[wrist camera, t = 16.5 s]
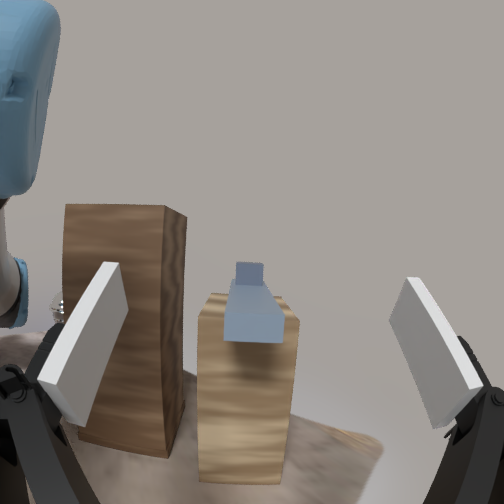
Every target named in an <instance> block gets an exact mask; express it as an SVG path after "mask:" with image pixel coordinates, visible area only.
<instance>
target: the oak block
mask: <svg viewBox="0 0 504 504" xmlns="http://www.w3.org/2000/svg"><path fill="white" fill-rule="evenodd" d="M228 295H229V294H219V293H211V295H210V297H209V299H208V300H207V302H206V303H205V306H204V307H203V309H202V310H201V312H200V314H199V316H198V345H197V346H198V347H197V348H198V349H197V420H198V459H199V482H208V483H222V484H249V485H270V484H280V480H281V473H282V467H283V460H284V454H285V447H286V440H287V433H288V425H289V417H290V409H291V401H292V393H293V384H294V375H295V366H296V356H297V346H298V336H299V325H300V324H299V323H300V321H299V319H298V318H297V317H296V316H295V314H294V313H293V312H292V311H291V309H290V308H289V307H288V305H287V304H286V303H285V302H284V300H283V299H282V298H281V297H279V296H273V297H274V298H275V300H276V302H277V303H278V305H279V306H280V308H281V309H282V311H283V312H284V314H285V321H284V333H283V343H261V342H238V341H223V340H224V315H225V308H226V304H227V299H228Z"/></svg>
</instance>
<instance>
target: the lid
mask: <svg viewBox="0 0 504 504" xmlns="http://www.w3.org/2000/svg"><path fill="white" fill-rule="evenodd" d="M284 321H285V314H284V312H283V311H282V309H281V308H280V306H279V305H278V303H277V302H276V300H275V298H274V297H273V295H272V294H271V292H270V291H269V289H268V287H267V286H266V285H265V283H264V281H263V264H262V263H252V262H237V263H236V279H232V282H231V286H230V291H229V295H228V299H227V304H226V308H225V315H224V340H223V341H238V342H261V343H283V333H284Z"/></svg>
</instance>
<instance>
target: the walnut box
mask: <svg viewBox="0 0 504 504" xmlns="http://www.w3.org/2000/svg"><path fill="white" fill-rule="evenodd" d="M186 229H187V217H186V216H184V215H182V214H180V213H178V212H176V211H175V210H172V209H171V208H169V207H167V206H165V205H129V204H128V205H127V204H66V206H65V218H64V232H63V258H62V286H63V287H62V293H63V318H64V324H66V323H67V321H68V319H69V317H70V316H71V314H72V312H73V311H74V309H75V307H76V305H77V304H78V302H79V300H80V299H81V297H82V295H83V294H84V292H85V290H86V289H87V287H88V286H89V284H90V282H91V281H92V279H93V278H94V276H95V274H96V273H97V271H98V270H99V268H100V267H101V265H102V264H103V262H116V263H119V266H120V271H121V276H122V281H123V286H124V291H125V296H126V300H127V305H128V309H129V310H128V313H127V315H126V317H125V320H124V322H123V325H122V327H121V329H120V332H119V334H118V337H117V339H116V342H115V344H114V347H113V350H112V352H111V355H110V357H109V360H108V363H107V365H106V368H105V371H104V373H103V376H102V379H101V382H100V385H99V387H98V390H97V393H96V396H95V399H94V402H93V405H92V408H91V411H90V414H89V417H88V420H87V423H86V426H85V427H83V426H79V425H78V428H79V432H78V436H79V440H82V441H86V442H90V443H93V444H97V445H101V446H105V447H109V448H113V449H118V450H122V451H127V452H132V453H137V454H143V455H148V456H154V457H160V458H167V459H168V457H169V454H170V451H171V448H172V445H173V442H174V439H175V436H176V433H177V429H178V426H179V423H180V420H181V417H182V414H183V411H184V408H185V400H183V295H184V267H185V246H186Z"/></svg>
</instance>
